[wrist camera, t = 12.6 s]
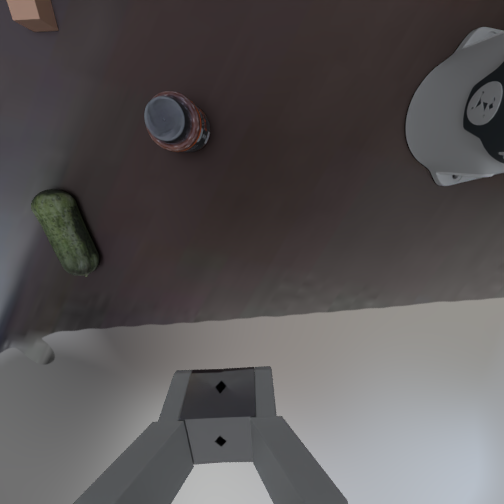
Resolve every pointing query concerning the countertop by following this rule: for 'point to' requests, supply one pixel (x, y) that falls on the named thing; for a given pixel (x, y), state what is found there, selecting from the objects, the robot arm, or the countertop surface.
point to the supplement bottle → (176, 122)
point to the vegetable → (66, 231)
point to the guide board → (33, 14)
